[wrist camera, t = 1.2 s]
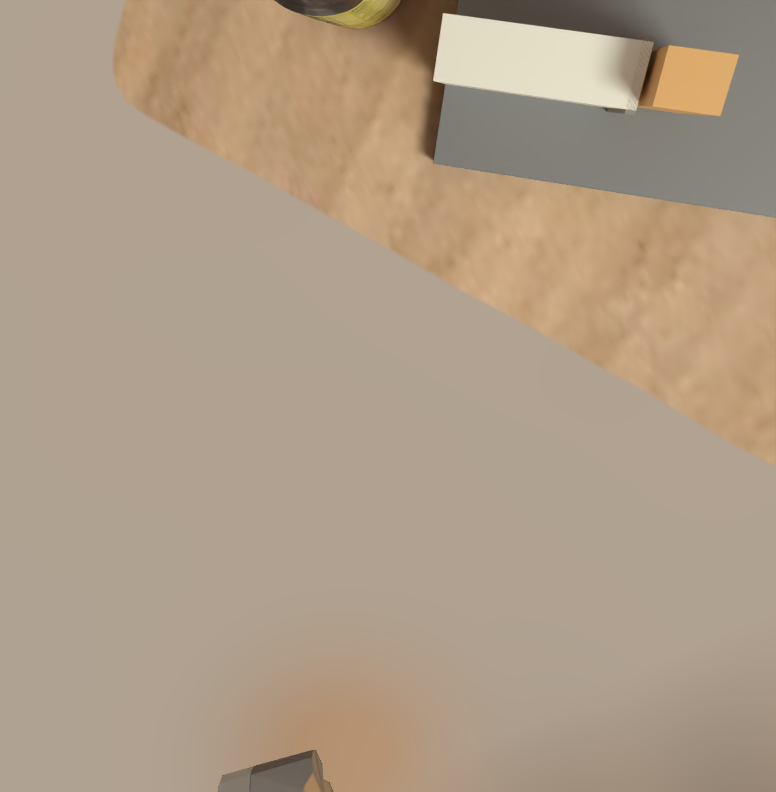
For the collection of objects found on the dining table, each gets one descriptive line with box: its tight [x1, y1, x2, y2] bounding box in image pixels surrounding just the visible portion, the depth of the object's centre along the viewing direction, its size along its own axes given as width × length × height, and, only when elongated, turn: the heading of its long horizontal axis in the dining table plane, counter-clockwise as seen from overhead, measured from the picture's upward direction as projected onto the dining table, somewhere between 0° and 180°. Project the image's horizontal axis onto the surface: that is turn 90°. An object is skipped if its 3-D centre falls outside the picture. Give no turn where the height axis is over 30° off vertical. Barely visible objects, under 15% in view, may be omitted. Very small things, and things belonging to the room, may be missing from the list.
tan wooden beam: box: [637, 45, 739, 116], centre depth 35 cm, size 2×3×9 cm
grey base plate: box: [433, 0, 776, 218], centre depth 37 cm, size 12×24×8 cm, turn 82°
